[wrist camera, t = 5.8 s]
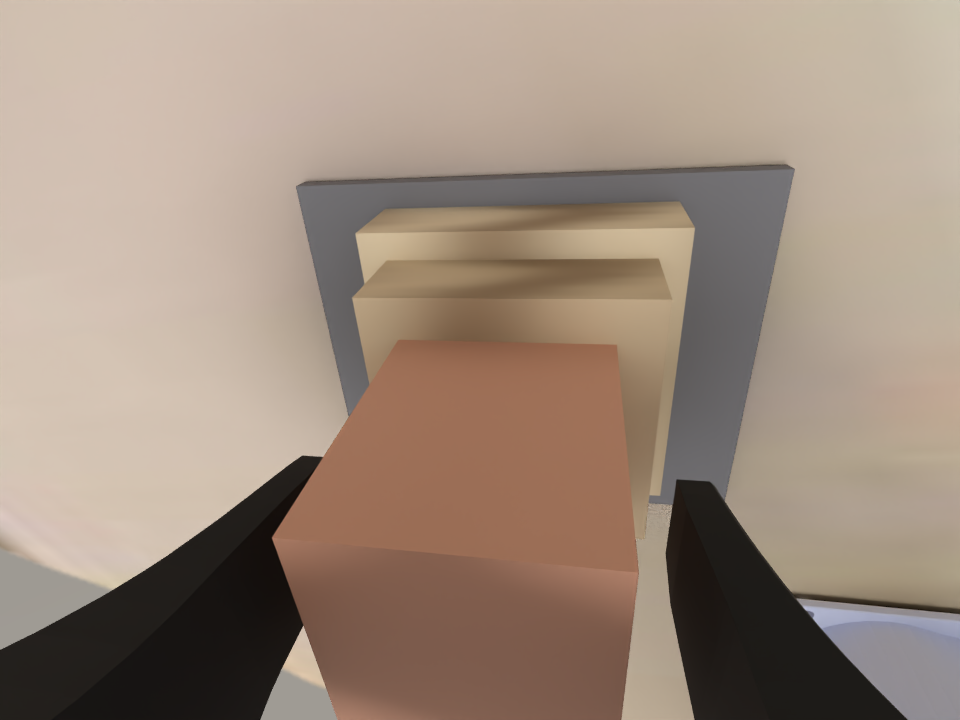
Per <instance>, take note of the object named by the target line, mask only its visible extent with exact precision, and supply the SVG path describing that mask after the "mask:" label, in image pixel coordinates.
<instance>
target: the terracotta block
mask: <svg viewBox="0 0 960 720" xmlns="http://www.w3.org/2000/svg"><path fill="white" fill-rule="evenodd" d="M272 539H273V542H274V545H275V548H276V550H277V553H278V556H279V559H280V562H281V564H282V567H283V570H284V573H285V575H286V578H287V581H288V584H289V586H290V589H291V592H292V595H293V597H294V600H295V603H296V606H297V608H298V611H299V614H300V617H301V620H302V622H303V625H304V628H305V631H306V633H307V636H308V639H309V642H310V644H311V647H312V650H313V653H314V655H315V658H316V661H317V664H318V666H319V669H320V672H321V675H322V678H323V680H324V683H325V686H326V689H327V691H328V694H329V697H330V700H331V702H332V705H333V708H334V711H335V713H336V716H337V719H338V720H621V717H622V709H623V701H624V692H625V684H626V675H627V667H628V659H629V650H630V642H631V634H632V625H633V617H634V608H635V600H636V592H637V583H638V575H639V570H638V560H637V549H636V539H635V529H634V518H633V508H632V498H631V487H630V477H629V466H628V456H627V446H626V435H625V425H624V414H623V404H622V394H621V383H620V373H619V363H618V352H617V345H608V344H565V343H521V342H477V341H434V340H398V341H397V343H396V344H395V346H394V347H393V349H392V350H391V352H390V354H389V355H388V357H387V358H386V360H385V361H384V363H383V365H382V366H381V368H380V369H379V371H378V372H377V374H376V375H375V377H374V379H373V380H372V382H371V383H370V385H369V386H368V388H367V390H366V391H365V393H364V394H363V396H362V397H361V399H360V401H359V402H358V404H357V405H356V407H355V408H354V410H353V411H352V413H351V415H350V416H349V418H348V419H347V421H346V422H345V424H344V426H343V427H342V429H341V430H340V432H339V433H338V435H337V437H336V438H335V440H334V441H333V443H332V444H331V446H330V448H329V449H328V451H327V452H326V454H325V455H324V457H323V458H322V460H321V462H320V463H319V465H318V466H317V468H316V469H315V471H314V473H313V474H312V476H311V477H310V479H309V480H308V482H307V484H306V485H305V487H304V488H303V490H302V491H301V493H300V494H299V496H298V498H297V499H296V501H295V502H294V504H293V505H292V507H291V509H290V510H289V512H288V513H287V515H286V516H285V518H284V520H283V521H282V523H281V524H280V526H279V527H278V529H277V531H276V532H275V534H274V535H273V537H272Z"/></svg>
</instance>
